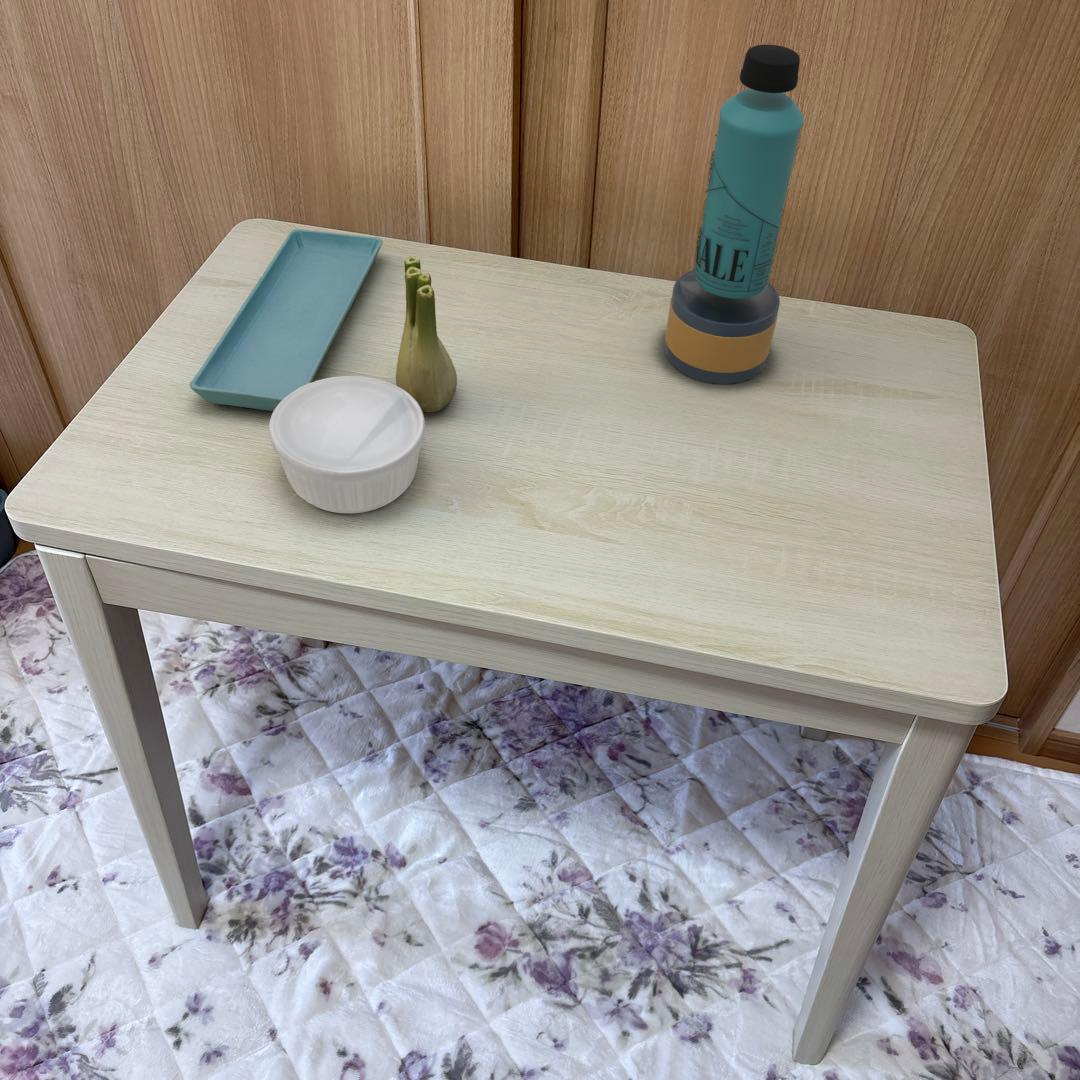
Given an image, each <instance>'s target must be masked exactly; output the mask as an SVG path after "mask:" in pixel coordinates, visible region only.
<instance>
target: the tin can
mask: <svg viewBox="0 0 1080 1080" xmlns="http://www.w3.org/2000/svg"><path fill="white" fill-rule="evenodd" d="M694 272H695V269H694V270H693V269H692V270H690V271H687V272H685V273H683V274H682V275H680V277H678V278H677V279H676V281H675V282H674V284H673V287H672V292H671V293H672V295H671V299H670V302H669V309H668V310H669V311H668V317H667V322H666V329H665V341H664V354H665V357H666V359H667V361H668V362H669V363H670V365H671V366H672V367H673V368H674V369H676V371H678V372H679V373H681V374H683V375H685V376H687V377H689V378H691V379H693V380H696V381H700V382H704V383H709V384H713V385H714V384H715V385H731V384H733V385H734V384H739V383H743V382H746V381H749V380H751V379H753V378H755V377H757V376H758V375H759V374H760V373H761V372H762V371H763V370H764V369H765V367H766V365H767V364H766V363H767V360H768V356H769V353H770V350H771V347H772V341H773V337H774V333H775V330H776V324H777V320H778V313H779V309H780V305H781V304H780V303H781V300H780V296H779V293H778V291H777V290H776V288H775V287H774V286H773V285H772V284H771V283H770V282H769V281H768V283H767V285H766V286H765V288H764V290H763V291H762V292H760V293H759V294H757V295H755V296H752V297H748V298H740V299H735V298H726V297H721V296H718V295H715V294H712V293H710V292H708V291H706V290H705V289H704V288H702V287H701V286H700V285H699V284H698V282H697V280H696V277H695V273H694Z"/></svg>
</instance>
